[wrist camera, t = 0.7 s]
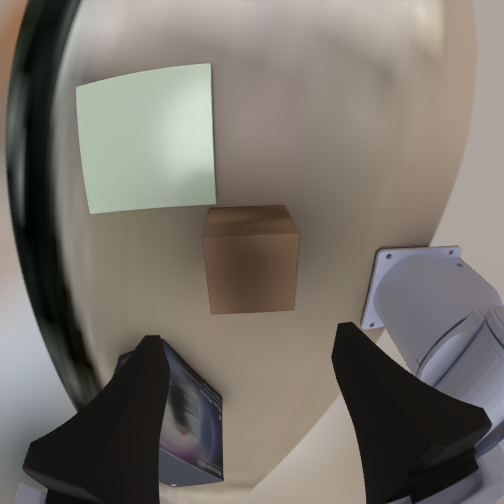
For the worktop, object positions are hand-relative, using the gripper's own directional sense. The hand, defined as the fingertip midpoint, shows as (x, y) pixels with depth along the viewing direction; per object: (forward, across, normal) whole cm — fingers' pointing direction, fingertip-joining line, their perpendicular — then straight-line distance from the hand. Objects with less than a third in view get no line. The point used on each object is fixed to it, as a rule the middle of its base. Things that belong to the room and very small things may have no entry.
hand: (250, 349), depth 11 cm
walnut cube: (+10, 0, 0) cm, 11 cm away
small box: (+11, +8, +15) cm, 20 cm away
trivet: (+10, +6, -8) cm, 14 cm away
